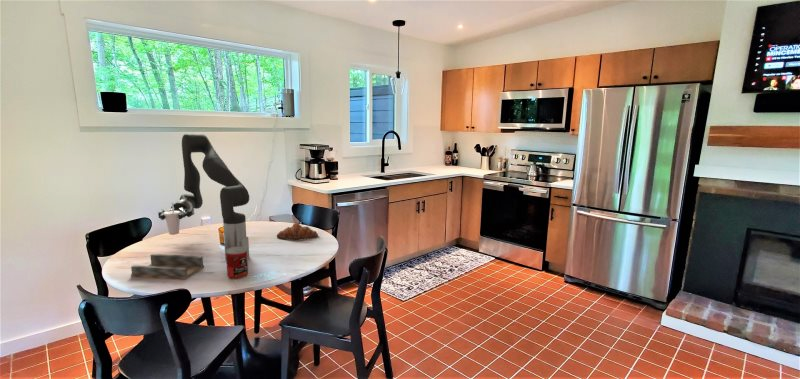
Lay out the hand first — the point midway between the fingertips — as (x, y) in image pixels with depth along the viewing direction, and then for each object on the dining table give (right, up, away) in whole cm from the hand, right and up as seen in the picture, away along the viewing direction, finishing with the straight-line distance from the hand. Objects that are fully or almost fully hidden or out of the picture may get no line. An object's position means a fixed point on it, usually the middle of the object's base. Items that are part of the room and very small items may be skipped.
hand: (171, 217), depth 162 cm
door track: (+5, -22, -9) cm, 24 cm away
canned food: (+34, -23, -11) cm, 42 cm away
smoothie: (-1, -8, +4) cm, 9 cm away
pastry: (+44, -14, +42) cm, 62 cm away
